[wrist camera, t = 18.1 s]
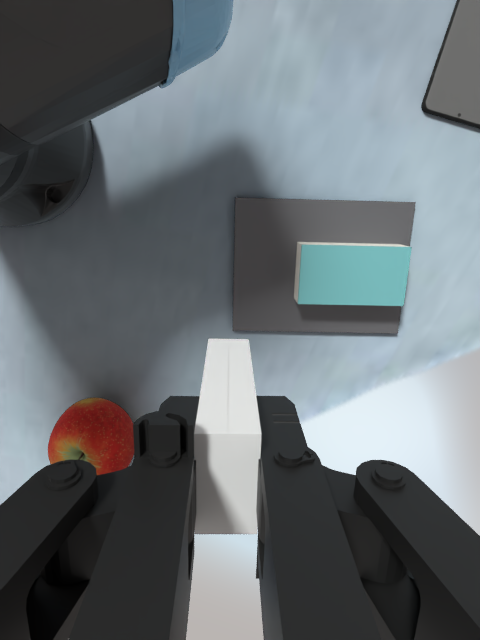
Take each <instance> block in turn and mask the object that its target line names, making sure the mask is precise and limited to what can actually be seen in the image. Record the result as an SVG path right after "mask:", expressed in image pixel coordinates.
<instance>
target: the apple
mask: <svg viewBox="0 0 480 640" xmlns="http://www.w3.org/2000/svg"><path fill="white" fill-rule="evenodd" d="M133 455H134V436H133V422H132V420H131V418H130V417H129V415H128V414H127V413H126V412H125V410H123V409H122V408H121V407H120V406H118V405H117V404H115V403H113V402H111V401H109V400H106V399H103V398H87V399H83V400H81V401H78V402H76V403H75V404H73V405H72V406H71V407H69V408H68V409H67V410H66V411H65V412H64V413H63V414H62V416H61V417H60V418H59V420H58V421H57V423H56V424H55V426H54V428H53V431H52V433H51V436H50V440H49V444H48V457H49V460H50V463H51V464H53V463H56V462H59V461H63V460H64V461H65V460H70V459H71V460H84V461H87V462H90V463H91V464H92V465H93V466H94V467H95V468H96V473H97V475H101V474H106V473H111V472H115V471H119V470H122V469H125V468H127V467H128V466H129V464H130V462H131V460H132V458H133Z"/></svg>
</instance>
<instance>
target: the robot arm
mask: <svg viewBox="0 0 480 640" xmlns="http://www.w3.org/2000/svg"><path fill="white" fill-rule="evenodd" d="M232 11H233V0H0V226H4V227H17V226H26V225H33V224H38V223H42V222H45V221H48V220H50V219H52V218H54V217H56V216H58V215H59V214H61V213H62V212H64V211H65V210H66V209H67V208H69V207H70V206H71V205H72V204H73V203H74V201H75V200H76V199H77V198H78V196H79V195H80V193H81V192H82V190H83V188H84V187H85V184H86V182H87V180H88V177H89V174H90V170H91V166H92V160H93V137H92V130H91V126H90V122H89V120H91V119H93V118H95V117H97V116H99V115H101V114H103V113H105V112H107V111H109V110H111V109H113V108H115V107H117V106H119V105H121V104H123V103H125V102H127V101H129V100H131V99H133V98H135V97H137V96H139V95H141V94H143V93H145V92H147V91H149V90H151V89H153V88H155V87H157V86H159V87H160V88H164V87H167V86H168V85H170V84H171V83H172V82H173V80H174V79H175V77H176V76H178V75H180V74H181V73H183V72H185V71H187V70H189V69H190V68H192V67H194V66H196V65H197V64H199V63H201V62H203V61H204V60H206V59H208V58H210V57H211V56H213V55H214V54H215V53H216V52H217V51H218V50H219V49H220V47H221V46H222V44H223V42H224V40H225V38H226V35H227V33H228V29H229V27H230V23H231V20H232ZM133 436H134V455H135V458H134V461H133V463H132V465H131V466H129V467H127V468H125V469H122V470H119V471H115V472H111V473H106V474H101V475H97V473H96V468H95V467H94V466H93V465H92V464H91V463H90V462H87V461H84V460H71V459H70V460H65V461H64V460H63V461H59V462H56V463H53V464H51V465H48V466H46V467H44V468H43V469H41V470H40V471H38V472H37V473H35V474H34V475H33V476H32V477H31V478H30V479H29V480H28V481H27V482H26V483H24V484H23V485H22V486H21V487H20V488H19V489H18V490H17V491H16V492H15V493H13V494H12V495H11V496H10V497H9V498H8V499H7V500H6V501H5V502H4V503H2V504H1V505H0V640H186V632H187V622H188V611H189V601H190V590H191V580H192V570H193V559H194V531H195V534H257V526H258V547H257V569H256V578H259V580H260V594H261V606H262V607H261V608H262V621H263V634H264V640H480V536H479V535H478V534H477V533H476V532H475V531H474V530H473V529H472V528H471V527H470V526H469V525H467V523H465V522H464V521H463V520H462V519H461V518H460V517H459V516H458V515H457V514H456V513H455V512H454V511H453V510H452V509H451V508H450V507H449V506H448V505H447V504H445V503H444V502H443V501H442V500H441V499H440V498H439V497H438V496H437V495H436V494H435V493H434V492H433V491H432V490H431V489H430V488H429V487H428V486H427V485H426V484H425V483H424V482H422V481H421V480H420V479H419V478H418V477H417V476H416V475H415V474H414V473H413V472H411V471H410V470H408V469H407V468H406V467H403V466H401V465H399V464H396V463H394V462H390V461H385V460H370V461H367V462H364V463H362V464H361V465H360V466H358V467H357V470H356V475H352V474H347V473H342V472H338V471H335V470H332V469H329V468H327V467H325V466H323V465H321V462H320V459H319V457H318V456H317V454H316V453H315V452H314V451H313V450H311V449H310V448H308V447H307V443H306V440H305V437H304V434H303V431H302V428H301V424H300V423H299V418H298V415H297V412H296V408H295V405H294V404H293V403H292V402H291V401H290V400H289V399H288V398H286V397H285V396H256V390H255V383H254V375H253V368H252V361H251V353H250V346H249V339H208V345H207V352H206V359H205V365H204V372H203V378H202V385H201V391H200V397H199V396H170V397H169V398H168V399H166V400H165V401H164V402H163V403H162V404H161V405H160V408H159V411H156V412H153V413H149V414H146V415H144V416H142V417H140V418H139V419H137V420H136V422H135V423H134V424H133Z"/></svg>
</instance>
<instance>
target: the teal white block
mask: <svg viewBox="0 0 480 640" xmlns="http://www.w3.org/2000/svg"><path fill="white" fill-rule="evenodd" d="M411 248H412V247H409V246H405V245H401V244H370V243H327V242H297V254H296V270H295V286H294V299H295V300H296V302H297V303H298V304H321V305H375V306H404V299H405V291H406V284H407V277H408V270H409V263H410V255H411Z"/></svg>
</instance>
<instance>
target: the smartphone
mask: <svg viewBox="0 0 480 640" xmlns="http://www.w3.org/2000/svg"><path fill="white" fill-rule="evenodd" d="M422 110H423V111H424V112H426V113H429V114H433V115H436V116H439V117H443V118H446V119H449V120H453V121H456V122H460V123H463V124H467V125H470V126H474V127H477V128H480V0H457V2H456V5H455V8H454V10H453V13H452V16H451V19H450V22H449V25H448V28H447V31H446V34H445V37H444V40H443V43H442V46H441V48H440V51H439V54H438V57H437V60H436V63H435V66H434V69H433V72H432V75H431V78H430V81H429V84H428V87H427V90H426V93H425V96H424V99H423V102H422Z"/></svg>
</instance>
